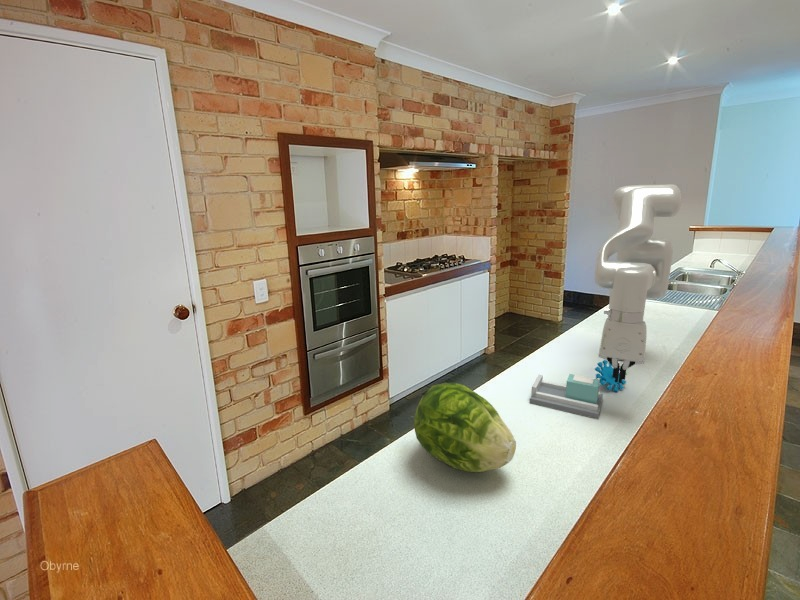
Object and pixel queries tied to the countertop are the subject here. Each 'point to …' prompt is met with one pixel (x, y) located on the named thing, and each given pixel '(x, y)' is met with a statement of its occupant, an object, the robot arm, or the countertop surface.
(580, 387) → the block
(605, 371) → the gear
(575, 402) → the rail base
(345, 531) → the countertop surface
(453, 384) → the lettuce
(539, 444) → the countertop surface
